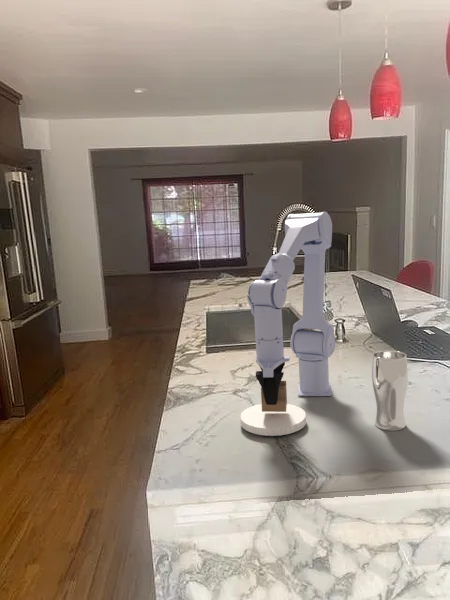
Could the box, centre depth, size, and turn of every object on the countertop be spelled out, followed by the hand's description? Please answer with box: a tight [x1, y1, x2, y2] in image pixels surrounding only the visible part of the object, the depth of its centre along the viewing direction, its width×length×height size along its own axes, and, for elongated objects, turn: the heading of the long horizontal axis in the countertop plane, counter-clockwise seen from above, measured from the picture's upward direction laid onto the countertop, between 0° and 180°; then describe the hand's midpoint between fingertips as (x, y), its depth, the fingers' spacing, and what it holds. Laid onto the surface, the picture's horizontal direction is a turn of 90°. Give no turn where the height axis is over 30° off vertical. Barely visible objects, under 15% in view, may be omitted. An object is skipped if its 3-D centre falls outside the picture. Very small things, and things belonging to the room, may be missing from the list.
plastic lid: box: [239, 403, 307, 437], centre depth 107 cm, size 14×14×2 cm
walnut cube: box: [260, 380, 288, 412], centre depth 106 cm, size 5×5×5 cm
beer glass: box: [371, 349, 409, 432], centre depth 101 cm, size 7×7×15 cm
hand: (272, 399), depth 106 cm, fingers closed on walnut cube, 5 cm apart
